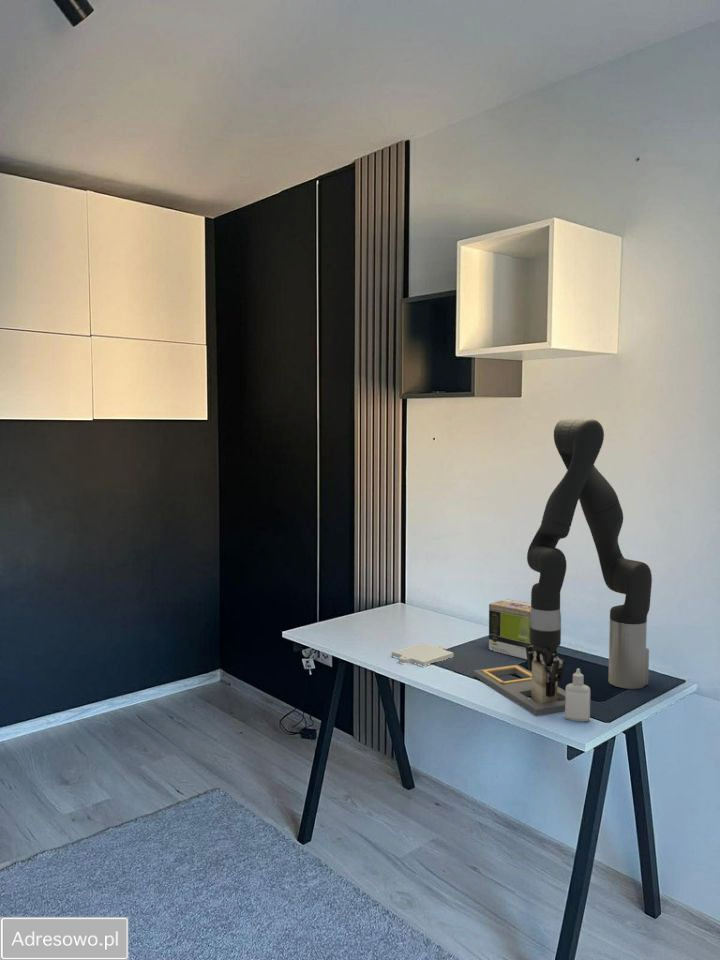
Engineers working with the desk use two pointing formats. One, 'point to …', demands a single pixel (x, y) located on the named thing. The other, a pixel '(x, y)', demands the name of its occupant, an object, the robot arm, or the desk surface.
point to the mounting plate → (422, 654)
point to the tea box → (509, 627)
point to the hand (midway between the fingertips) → (544, 692)
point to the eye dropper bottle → (577, 699)
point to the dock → (519, 688)
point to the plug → (541, 684)
